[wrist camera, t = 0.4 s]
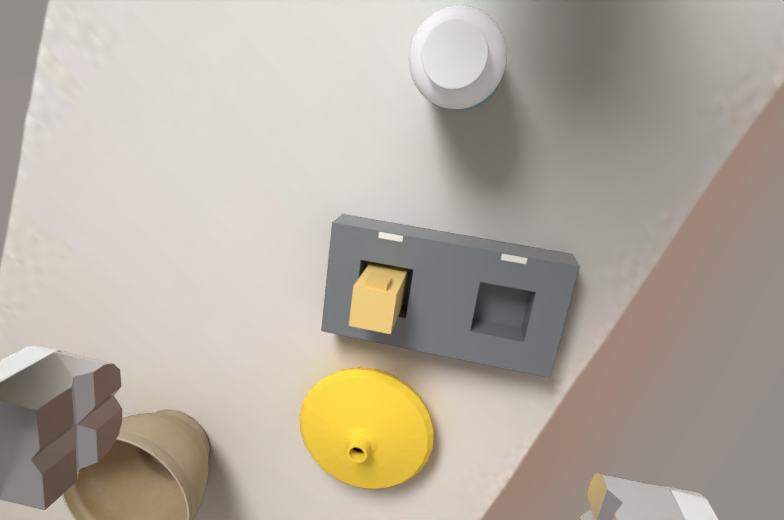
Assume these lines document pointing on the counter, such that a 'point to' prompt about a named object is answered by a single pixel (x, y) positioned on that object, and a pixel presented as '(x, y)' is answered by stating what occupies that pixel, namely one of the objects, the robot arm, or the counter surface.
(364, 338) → the jack panel
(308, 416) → the yellow round knobbed piece
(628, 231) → the counter surface
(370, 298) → the plug
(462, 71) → the pill bottle
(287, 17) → the counter surface
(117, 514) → the planter bowl
